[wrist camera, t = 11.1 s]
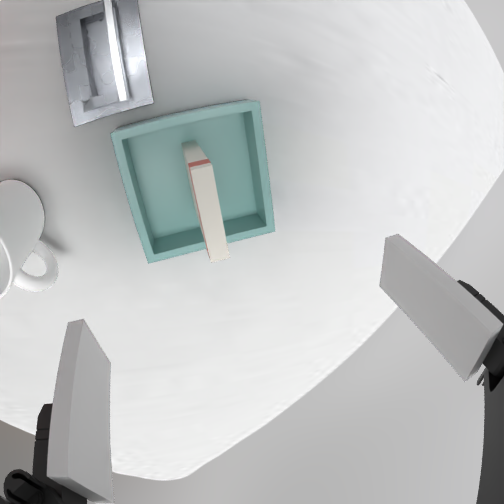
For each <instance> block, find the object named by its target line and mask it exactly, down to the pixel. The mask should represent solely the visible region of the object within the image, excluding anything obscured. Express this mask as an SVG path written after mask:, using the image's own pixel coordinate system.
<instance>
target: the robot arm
mask: <svg viewBox="0 0 504 504" xmlns="http://www.w3.org/2000/svg"><path fill="white" fill-rule="evenodd" d="M379 286H380V287H381V288H382V289H383V290H384V292H385V293H386V294H387V295H388V296H389V297H390V298H391V299H392V300H393V301H394V302H395V303H396V304H397V305H398V306H399V308H400V309H401V310H402V311H403V312H404V313H405V314H406V315H407V316H408V317H409V318H410V320H411V321H412V322H413V323H414V324H415V325H416V326H417V327H418V328H419V329H420V331H421V332H422V333H423V334H424V335H425V336H426V337H427V338H428V340H429V341H430V342H431V343H432V344H433V345H434V346H435V348H436V349H437V350H438V351H439V352H440V353H441V354H442V355H443V357H444V358H445V359H446V360H447V362H448V363H449V364H450V365H451V366H452V367H453V369H454V370H455V371H456V372H457V373H458V375H460V377H461V378H462V379H463V381H464V382H465V381H466V380H468V379H469V378H470V377H472V376H473V375H475V374H476V373H477V372H478V370H479V368H480V367H481V365H482V363H483V364H484V365H485V366H486V368H485V369H484V371H483V373H482V374H481V376H480V378H479V379H478V381H477V385H479V384H480V383H481V381H482V380H483V378H484V382H483V384H482V386H484V393H485V395H484V396H485V419H484V421H485V422H484V445H483V457H482V467H481V476H480V484H479V491H478V497H477V503H476V504H504V315H503V314H502V313H501V312H500V311H499V310H498V309H496V308H495V307H494V306H493V305H492V304H491V303H490V302H489V301H488V300H485V298H484V297H483V296H482V295H481V294H479V292H478V291H476V290H475V289H474V288H473V287H472V286H470V285H469V284H467V283H465V282H463V281H461V280H459V281H456V280H455V279H453V278H452V277H451V276H450V275H449V274H448V273H446V272H445V271H444V270H443V269H441V268H440V267H439V266H438V265H437V264H436V263H434V262H433V261H432V260H431V259H429V258H428V257H427V256H426V255H425V254H423V253H422V252H421V251H420V250H418V249H417V248H416V247H414V246H413V245H412V244H411V243H409V242H408V241H407V240H406V239H404V238H403V237H402V236H400V235H399V234H396V235H393V236H390V237H386V238H385V246H384V255H383V263H382V271H381V278H380V285H379ZM110 373H111V362H110V361H109V359H108V358H107V356H106V355H105V353H104V351H103V350H102V348H101V347H100V345H99V344H98V342H97V340H96V339H95V337H94V335H93V334H92V332H91V330H90V329H89V327H88V325H87V324H86V322H85V320H84V319H81V320H77V321H73V322H68V325H67V329H66V334H65V338H64V343H63V348H62V352H61V357H60V362H59V368H58V373H57V379H56V385H55V392H54V399H53V403H52V404H44V405H43V407H42V409H41V411H40V413H39V415H38V421H37V431H36V438H35V439H36V441H35V447H34V459H33V475H30V474H29V473H27V472H25V471H23V470H21V469H18V470H13V471H12V472H10V473H9V474H8V476H7V477H6V478H5V482H4V494H5V496H6V499H5V498H4V497H2V496H0V504H87V499H88V500H90V501H92V502H94V503H115V501H114V492H113V480H112V467H111V448H110Z"/></svg>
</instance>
